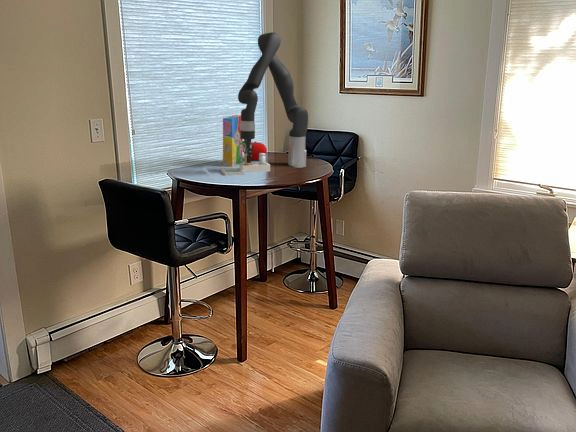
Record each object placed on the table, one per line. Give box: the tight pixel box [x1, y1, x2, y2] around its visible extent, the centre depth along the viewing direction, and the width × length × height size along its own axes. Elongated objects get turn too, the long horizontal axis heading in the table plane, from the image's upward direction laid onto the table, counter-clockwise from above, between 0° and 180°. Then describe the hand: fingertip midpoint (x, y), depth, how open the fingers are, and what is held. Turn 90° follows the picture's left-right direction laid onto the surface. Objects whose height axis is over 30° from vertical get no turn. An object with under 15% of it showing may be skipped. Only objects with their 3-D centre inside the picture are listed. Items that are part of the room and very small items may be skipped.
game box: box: [222, 114, 244, 168], centre depth 303 cm, size 21×6×27 cm, turn 168°
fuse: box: [258, 153, 266, 165], centre depth 288 cm, size 3×3×9 cm
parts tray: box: [220, 167, 245, 176], centre depth 280 cm, size 10×10×2 cm
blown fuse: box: [243, 153, 252, 165], centre depth 285 cm, size 3×3×9 cm
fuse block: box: [239, 161, 271, 173], centre depth 287 cm, size 15×7×4 cm, turn 109°
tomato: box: [249, 141, 268, 161], centre depth 323 cm, size 12×13×11 cm
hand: (247, 161), depth 285 cm, fingers open, 4 cm apart
